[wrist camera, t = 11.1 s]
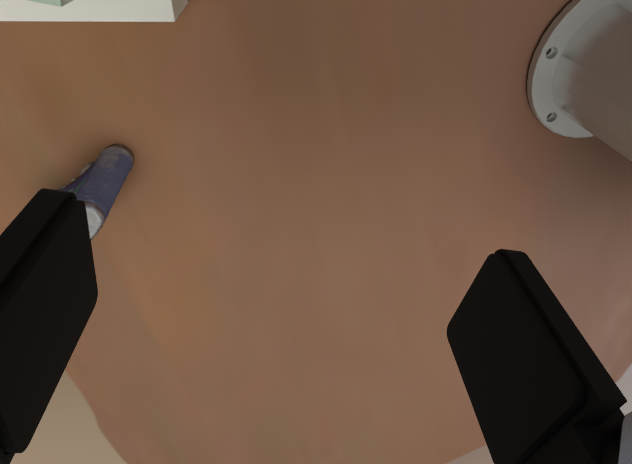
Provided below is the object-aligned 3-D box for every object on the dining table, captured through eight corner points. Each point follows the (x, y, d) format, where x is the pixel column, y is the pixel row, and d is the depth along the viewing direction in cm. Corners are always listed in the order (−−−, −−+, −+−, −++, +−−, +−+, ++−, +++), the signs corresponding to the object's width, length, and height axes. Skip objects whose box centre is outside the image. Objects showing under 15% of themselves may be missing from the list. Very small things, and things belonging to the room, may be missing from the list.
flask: (116, 137, 34) (69, 215, 26) (145, 162, 36) (111, 243, 27) (44, 198, 37) (-19, 287, 28) (75, 219, 38) (23, 309, 30)
